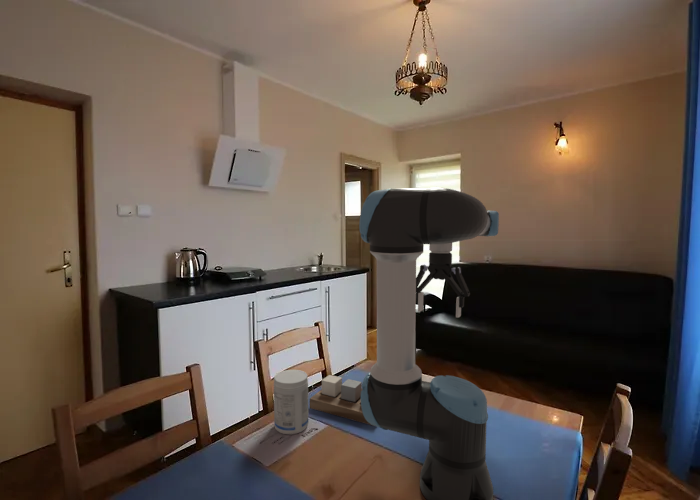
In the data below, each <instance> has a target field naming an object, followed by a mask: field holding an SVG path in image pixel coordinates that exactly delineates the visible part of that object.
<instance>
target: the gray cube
mask: <svg viewBox="0 0 700 500" xmlns="http://www.w3.org/2000/svg"><path fill="white" fill-rule="evenodd" d="M362 383H363V381H359V380H354V379H350V378H347V379H346V380H345V381H344V382H342V385H341V399H345V400H347V401H348V402H352V403H357V402H356V401H357V400H358V399H359V398H360V397H361V391H362Z"/></svg>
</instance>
